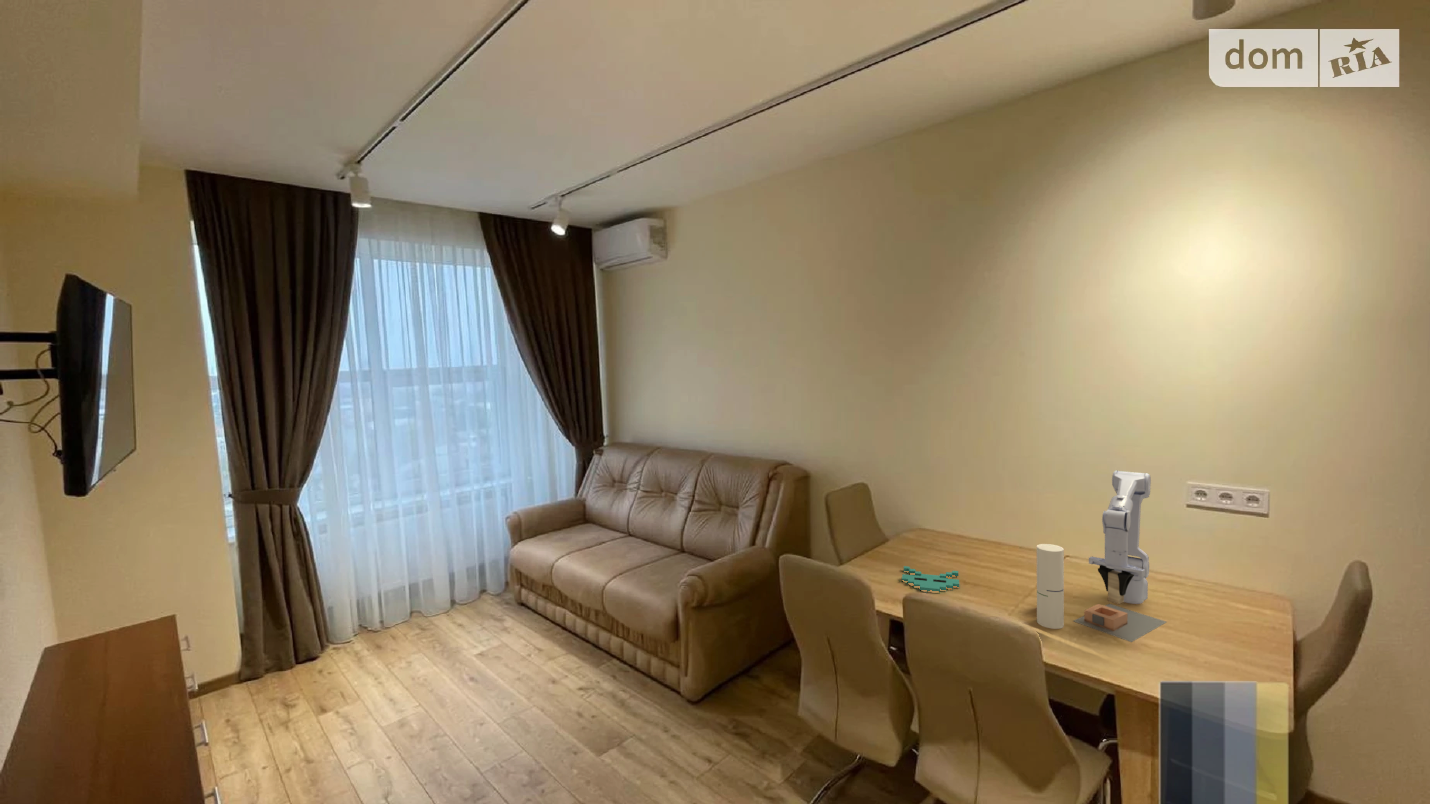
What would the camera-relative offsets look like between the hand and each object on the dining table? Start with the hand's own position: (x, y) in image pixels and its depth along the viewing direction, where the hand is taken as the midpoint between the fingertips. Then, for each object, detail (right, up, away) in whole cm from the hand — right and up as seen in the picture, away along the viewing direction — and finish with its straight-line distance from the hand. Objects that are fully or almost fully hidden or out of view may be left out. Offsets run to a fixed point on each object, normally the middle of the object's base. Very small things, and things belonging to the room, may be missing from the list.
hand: (1115, 592), depth 171 cm
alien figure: (-42, -10, +40) cm, 59 cm away
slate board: (+2, -10, +1) cm, 11 cm away
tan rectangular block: (0, -3, 0) cm, 3 cm away
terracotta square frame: (-2, -10, +1) cm, 10 cm away
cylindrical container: (-19, -11, +2) cm, 22 cm away
